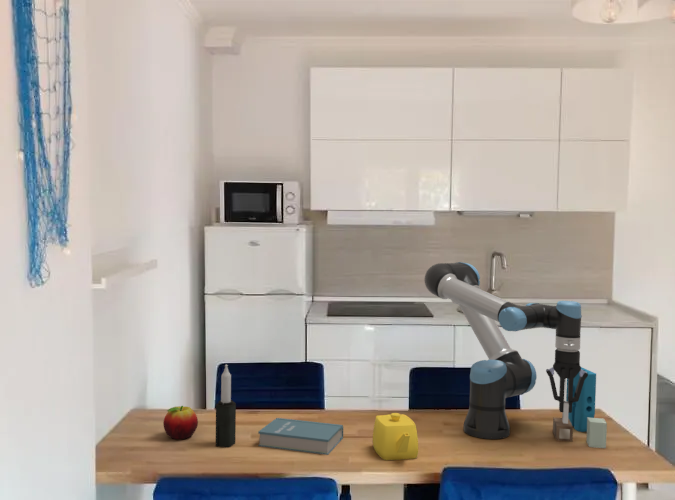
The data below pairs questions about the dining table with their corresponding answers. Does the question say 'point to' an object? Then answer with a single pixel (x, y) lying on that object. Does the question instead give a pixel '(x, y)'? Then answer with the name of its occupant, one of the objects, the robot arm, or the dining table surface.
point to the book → (301, 435)
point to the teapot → (395, 437)
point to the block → (583, 402)
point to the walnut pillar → (562, 430)
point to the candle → (225, 413)
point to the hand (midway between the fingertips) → (565, 422)
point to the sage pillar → (596, 432)
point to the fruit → (180, 422)
